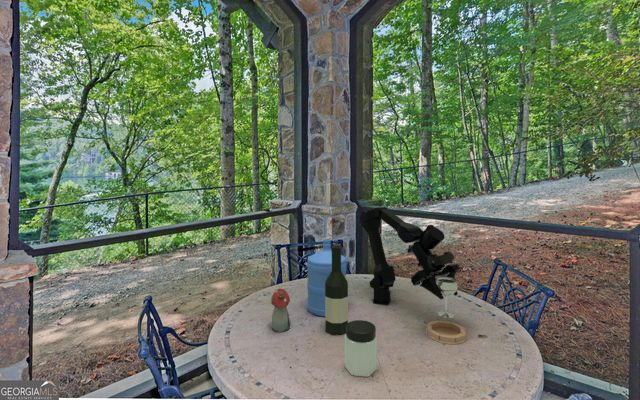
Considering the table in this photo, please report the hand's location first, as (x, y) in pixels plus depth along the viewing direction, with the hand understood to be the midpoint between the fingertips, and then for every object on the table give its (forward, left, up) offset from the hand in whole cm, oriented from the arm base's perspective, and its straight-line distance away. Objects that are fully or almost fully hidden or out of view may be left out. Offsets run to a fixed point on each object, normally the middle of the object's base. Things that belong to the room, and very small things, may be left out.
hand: (449, 297), depth 107 cm
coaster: (-1, +1, -13) cm, 13 cm away
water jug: (-45, +10, -13) cm, 48 cm away
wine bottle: (-37, -6, -13) cm, 40 cm away
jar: (-25, -26, -13) cm, 39 cm away
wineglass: (-1, +1, -7) cm, 7 cm away
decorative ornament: (-56, -10, -13) cm, 58 cm away
